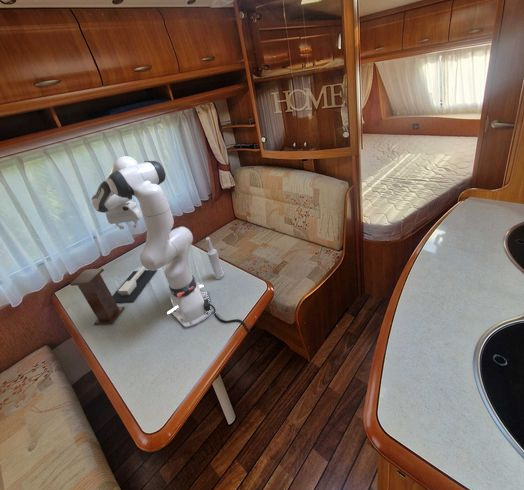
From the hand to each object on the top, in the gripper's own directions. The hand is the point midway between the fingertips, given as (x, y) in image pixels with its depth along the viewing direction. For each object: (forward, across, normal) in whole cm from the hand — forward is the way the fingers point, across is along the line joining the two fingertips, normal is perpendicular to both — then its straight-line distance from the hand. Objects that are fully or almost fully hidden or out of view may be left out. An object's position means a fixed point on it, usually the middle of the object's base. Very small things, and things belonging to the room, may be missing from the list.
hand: (129, 228), depth 157 cm
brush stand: (+31, -2, -36) cm, 47 cm away
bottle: (+31, +50, -11) cm, 60 cm away
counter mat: (+31, -2, -14) cm, 34 cm away
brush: (+30, -1, -11) cm, 32 cm away
